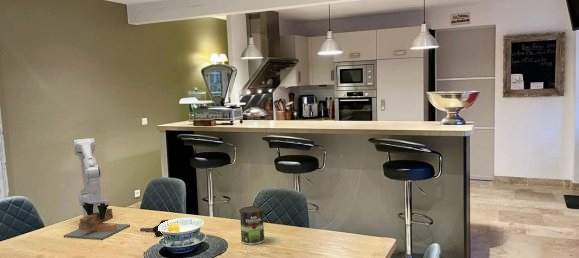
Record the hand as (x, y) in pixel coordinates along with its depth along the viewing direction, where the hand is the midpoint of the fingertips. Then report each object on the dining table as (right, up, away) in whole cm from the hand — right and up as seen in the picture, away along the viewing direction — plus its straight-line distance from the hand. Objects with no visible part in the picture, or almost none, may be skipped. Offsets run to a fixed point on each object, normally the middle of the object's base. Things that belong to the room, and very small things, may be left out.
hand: (96, 218), depth 216 cm
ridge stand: (0, -7, +1) cm, 7 cm away
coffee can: (+78, -6, -22) cm, 81 cm away
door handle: (+31, -6, 0) cm, 31 cm away
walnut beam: (0, -3, 0) cm, 3 cm away
